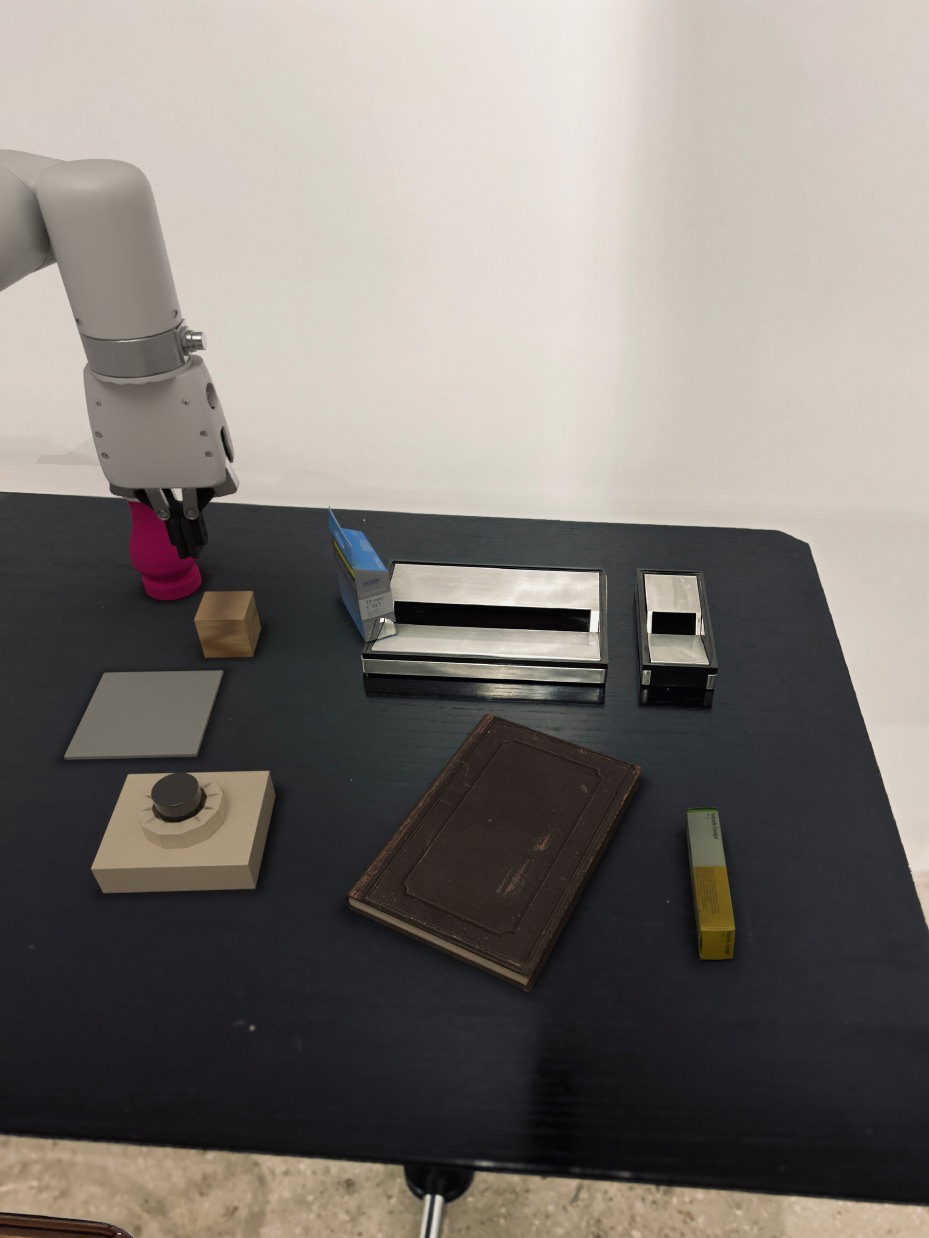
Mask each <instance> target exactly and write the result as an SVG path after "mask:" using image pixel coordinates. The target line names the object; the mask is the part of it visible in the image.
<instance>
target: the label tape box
mask: <svg viewBox="0 0 929 1238" xmlns="http://www.w3.org/2000/svg"><path fill="white" fill-rule="evenodd" d="M328 529H329V534H330V539H331V544H332V549H333V550H332V551H333V556H334V562H335V567H336V572H337V578H338V584H339V590H340V594H341V599H342V602H343V604H344V606H345V608H346V610H347V611H348V613H349V615H350V617H351V619H352V621H353V622H354V625H355V626H356V628H357V630H358V632H359V633H360V635H361V637H362V639H363V641H364V642H365V643H366V642H367V638H368V633H369V631H370V629H371V626H372V624H373V621H374V619H375V618H376V619H377V618H384V619H385V618H386V619H390V620H391V621H392V622H396V617H395V616H396V615H395V608H394V603H393V602H394V601H393V595H392V588H391V581H390V574H389V570H388V569H387V567H386V565H385V564H384V563H383V561H382V560H381V558H380V557H379V555H378V554H377V552H376V550H375V548H374V547H373V546H372V544H371V543H370V541H369V539H368V538H367V537H366V535H365V534H364V531H360V530H356V529H349V528H343V527H341V525H340V524H339V522H338V520H337V518H336V517H335V515H334V513H333V511H332V509H331V506H330V505H328Z"/></svg>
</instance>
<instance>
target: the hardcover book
mask: <svg viewBox="0 0 929 1238" xmlns="http://www.w3.org/2000/svg"><path fill="white" fill-rule="evenodd" d="M642 771H643V767H642V766H639V765H637V764H634V763H630V762H628V761H625V760H623V759H619V758H616V757H615V756H611V755H609V754H608V755H607V754H605V753H602V752H599V751H596V750H594V749H592V748H588V747H585V746H582V745H579V744H577V743H574V742H571V741H568V740H566V739H562V738H559V737H557V736H554V735H551V734H549V733H545V732H543V731H540V730H537V729H534V728H531V727H529V726H526V725H523V724H521V723H517V722H514V721H512V720H508V719H506V718H504V717H500V716H497V715H495V714H492V713H485V714H483V716H482V717H481V718H480V720H479V721H478V723H477V724H476V725H475V726H474V727H473V729H472V730H471V732H470V733H469V734H468V735H467V737H466V738H465V739H464V740H463V742H462V743H461V744H460V746H458V748H457V749H456V751H455V752H454V753H453V755H452V756H451V757H450V758H449V759H448V762H446V764H445V765H444V767H442V769H441V770H440V772H439V773H438V774H437V775H436V777H435V778H434V779H433V780H432V782H431V783H430V785H429V786H428V787H427V788H426V790H425V791H424V792H423V794H422V795H420V797H419V799H418V800H417V802H416V803H415V804H414V805H413V806H412V808H411V809H410V810H409V812H408V813H407V814H406V815H405V817H404V818H403V820H402V821H401V822H400V824H399V825H398V826H397V827H396V829H394V831H393V832H392V834H391V835H390V836H389V838H388V839H387V840H386V842H384V844H383V845H382V847H381V848H380V849H379V850H378V851H377V853H376V854H375V856H374V857H373V858H372V859H371V861H370V862H369V864H367V866H366V867H365V868H364V870H363V871H362V872H361V873H360V875H359V877H358V878H357V879H356V880H355V882H354V883H352V886H350V888H349V889H348V890H347V892H346V893H345V894H344V901H345V905H346V907H347V908H348V909H349V910H350V911H351V912H353V913H354V914H357V915H358V916H361V917H363V918H366V919H367V920H370V921H372V922H374V923H377V924H379V925H380V926H382V927H385V928H387V929H389V930H392V931H393V932H395V933H399V934H400V935H402V936H405V937H406V938H409V939H411V940H413V941H415V942H417V943H420V944H421V945H423V946H426V947H428V948H430V949H432V950H435V951H437V952H440V953H441V954H443V955H446V956H448V957H450V958H452V959H455V960H457V961H459V962H461V963H463V964H465V965H468V966H470V967H472V968H474V969H476V970H478V971H480V972H482V973H484V974H486V975H489V976H491V977H493V978H495V979H498V980H500V981H502V982H504V983H506V984H509V985H511V986H513V987H515V988H517V989H519V990H521V991H524V992H526V993H528V994H530V992H531V991H532V989H533V987H534V986H535V983H536V981H537V979H538V977H539V976H540V973H541V972H542V970H543V968H544V967H545V964H546V962H547V960H548V958H549V957H550V955H551V954H552V951H553V949H554V948H555V945H556V943H557V942H558V939H559V938H560V936H561V934H562V932H563V930H564V928H565V926H566V924H567V922H568V921H569V919H570V917H571V915H572V914H573V912H574V909H575V908H576V906H577V904H578V902H579V900H580V898H581V896H582V894H583V892H584V891H585V888H586V886H587V885H588V883H589V881H590V879H591V877H592V875H593V873H594V872H595V869H596V868H597V866H598V864H599V863H600V860H601V859H602V856H603V855H604V852H605V850H606V849H607V848H608V846H609V843H610V841H611V839H612V838H613V836H614V833H615V832H616V830H617V828H618V826H619V824H620V822H621V820H622V818H623V817H624V815H625V813H626V811H627V809H628V807H629V805H630V804H631V801H632V800H633V798H634V796H635V794H636V792H637V790H638V788H639V786H640V784H641V782H640V781H638V779H639V776H640V774H641V772H642Z"/></svg>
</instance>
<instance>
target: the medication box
mask: <svg viewBox="0 0 929 1238" xmlns="http://www.w3.org/2000/svg"><path fill="white" fill-rule="evenodd" d="M719 815H720V814H719V811H718V807H717V806H695V807H687V808H686V833H685V834H686V843H687V855H688V864H689V865H688V866H689V875H690V883H691V891H692V901H693V902H692V903H693V910H694V921H695V931H696V938H697V939H696V940H697V948H698V957H699V959H700V961H702V960H715V961H717V960H730V959H733V958H734V948H735V940H736V938H735V937H736V925H735V924H736V923H735V917H734V910H733V905H732V904H733V903H732V897H731V890H730V883H729V877H728V870H727V864H726V857H725V849H724V844H723V837H722V836H723V835H722V830H721V823H720V816H719Z"/></svg>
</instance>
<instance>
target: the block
mask: <svg viewBox="0 0 929 1238" xmlns="http://www.w3.org/2000/svg"><path fill="white" fill-rule="evenodd" d="M193 622H194V625H195V629H196V632H197V636H198V639H199V642H200V645H201V649H202V653H203V656H204V659H215V658H216V659H219V658H223V659H224V658H253V657H254V654H255V651H256V647H257V644H258V641H259V637H260V633H261V630H262V626H261V621H260V618H259V613H258V607H257V604H256V600H255V595H254V591H253V590H232V591H231V590H230V591H229V590H227V591H225V590H224V591H204V593H203V596H202V598H201V601H200V603H199V606H198V608H197V612H196V613H195V615H194V619H193Z"/></svg>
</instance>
